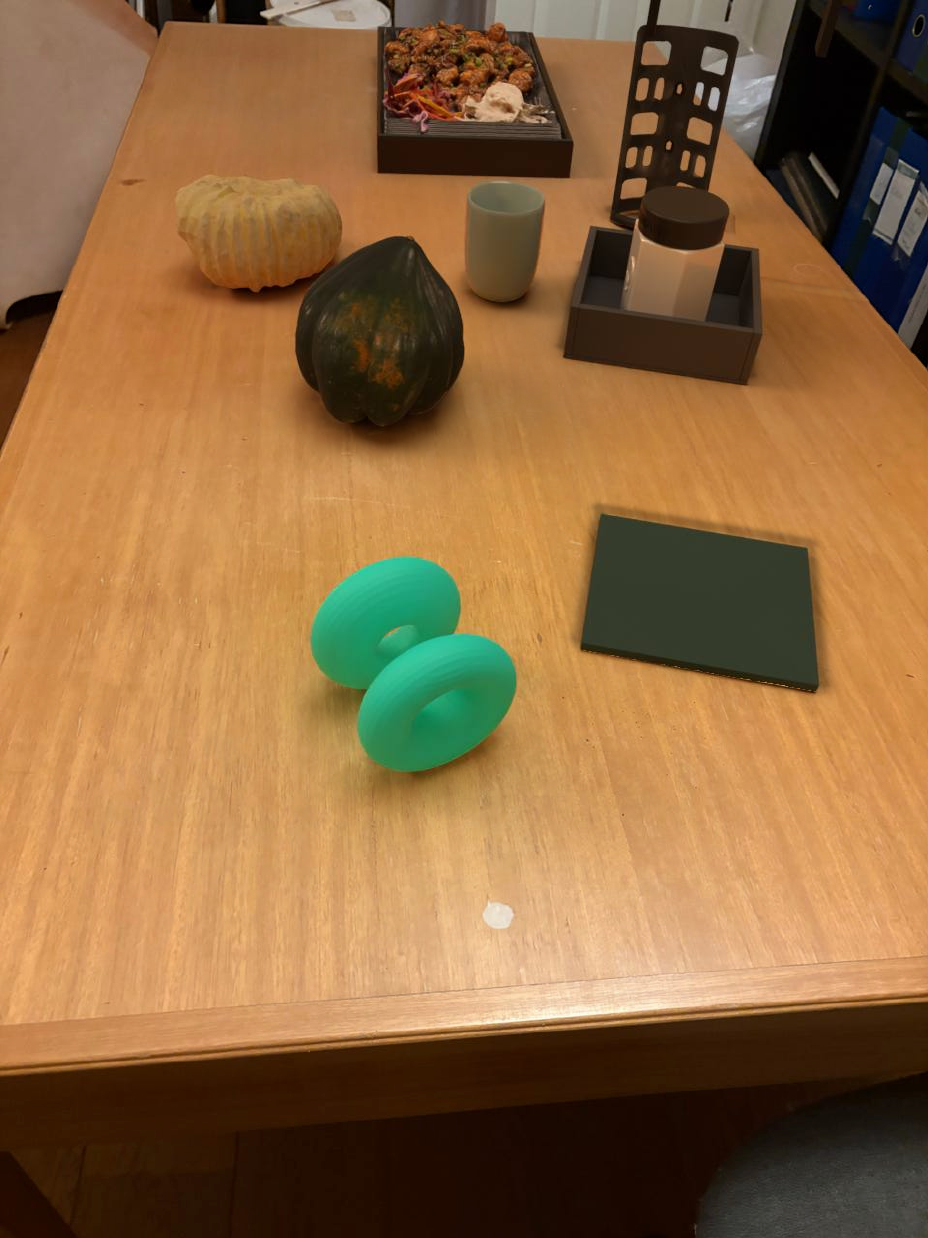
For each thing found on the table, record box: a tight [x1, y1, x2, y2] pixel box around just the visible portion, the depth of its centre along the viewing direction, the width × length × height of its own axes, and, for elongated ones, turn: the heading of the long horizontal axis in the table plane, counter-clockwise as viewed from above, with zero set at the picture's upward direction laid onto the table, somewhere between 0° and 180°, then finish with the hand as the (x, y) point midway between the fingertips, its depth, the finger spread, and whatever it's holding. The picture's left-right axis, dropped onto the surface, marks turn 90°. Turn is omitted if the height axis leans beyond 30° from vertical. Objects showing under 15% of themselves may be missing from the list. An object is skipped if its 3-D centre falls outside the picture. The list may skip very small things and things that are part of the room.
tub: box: [562, 225, 764, 386], centre depth 93 cm, size 18×18×5 cm
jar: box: [620, 185, 730, 321], centre depth 90 cm, size 9×8×12 cm
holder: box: [609, 24, 740, 229], centre depth 105 cm, size 11×8×20 cm
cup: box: [463, 180, 546, 303], centre depth 94 cm, size 8×8×10 cm
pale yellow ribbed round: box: [174, 173, 343, 293], centre depth 96 cm, size 17×11×15 cm
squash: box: [294, 235, 466, 427], centre depth 79 cm, size 14×15×15 cm
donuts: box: [309, 556, 518, 773], centre depth 56 cm, size 10×10×10 cm
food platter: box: [376, 19, 575, 179], centre depth 130 cm, size 45×25×10 cm, turn 4°
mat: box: [579, 513, 820, 692], centre depth 68 cm, size 16×14×1 cm
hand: (734, 42), depth 75 cm, fingers open, 13 cm apart
